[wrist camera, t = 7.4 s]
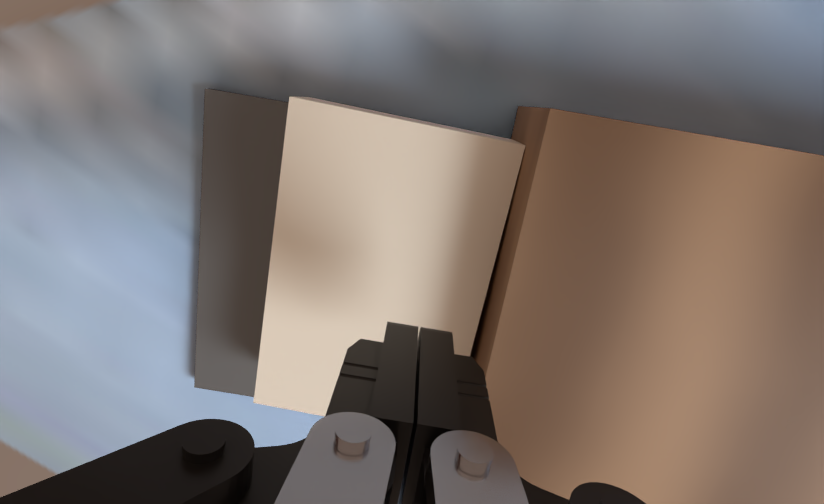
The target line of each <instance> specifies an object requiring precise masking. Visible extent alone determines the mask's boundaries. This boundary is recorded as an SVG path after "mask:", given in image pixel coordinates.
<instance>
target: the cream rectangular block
mask: <svg viewBox="0 0 824 504" xmlns="http://www.w3.org/2000/svg"><path fill="white" fill-rule="evenodd" d="M525 146H526V145H524V144H521V143H519V142H517V141H515V140H513V139H509V138H504V137H499V136H494V135H489V134H484V133H480V132H475V131H470V130H465V129H460V128H456V127H451V126H446V125H441V124H436V123H432V122H427V121H422V120H417V119H412V118H407V117H403V116H398V115H393V114H388V113H383V112H379V111H374V110H369V109H364V108H359V107H355V106H350V105H345V104H340V103H335V102H331V101H326V100H321V99H316V98H311V97H293V96H289V103H288V112H287V121H286V129H285V138H284V146H283V155H282V163H281V172H280V180H279V189H278V197H277V206H276V215H275V223H274V232H273V240H272V249H271V257H270V266H269V274H268V283H267V292H266V300H265V309H264V317H263V326H262V334H261V343H260V351H259V360H258V368H257V377H256V386H255V394H254V403H257V404H263V405H268V406H273V407H278V408H283V409H289V410H294V411H299V412H304V413H309V414H315V415H320V416H325V415H326V412H327V409H328V406H329V403H330V400H331V397H332V394H333V391H334V388H335V385H336V382H337V379H338V376H339V374H340V370H341V367H342V364H343V361H344V358H345V355H346V352H347V349H348V348H349V347H350V346H352V345H353V344H354V343H356V342H357V341H358V340H360V339H366V340H372V341H378V342H383V341H384V336H385V331H386V326H387V321H388V322H394V323H400V324H406V325H412V326H418V336H419V331H420V328H421V327H425V328H431V329H437V330H443V331H449V332H452V334H453V345H454V354H457V355H463V356H469V357H470V353H471V350H472V346H473V342H474V338H475V335H476V331H477V327H478V323H479V320H480V316H481V312H482V308H483V304H484V301H485V297H486V293H487V289H488V286H489V282H490V278H491V274H492V270H493V267H494V263H495V259H496V255H497V252H498V248H499V244H500V240H501V236H502V233H503V229H504V225H505V221H506V218H507V214H508V210H509V206H510V202H511V199H512V195H513V191H514V187H515V184H516V180H517V176H518V172H519V168H520V165H521V161H522V157H523V153H524V150H525Z"/></svg>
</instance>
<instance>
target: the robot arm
mask: <svg viewBox="0 0 824 504" xmlns="http://www.w3.org/2000/svg"><path fill="white" fill-rule="evenodd" d="M486 386H487V385H486V380H485V375H484V371H483V369H482V368H481V367H480V366H479V365H478V363H477V362H476V361H475V360H474V359H473V357H469V356H463V355H457V354H454V345H453V334H452V332H449V331H443V330H437V329H431V328H425V327H421V328H420V331H419V336H418V326H412V325H406V324H400V323H394V322H388V321H387V326H386V331H385V336H384V341H383V342H378V341H372V340H366V339H360V340H358V341H357V342H356V343H354V344H353V345H352V346H350V347H349V348H348V349H347V352H346V355H345V358H344V361H343V364H342V367H341V370H340V374H339V376H338V379H337V382H336V385H335V388H334V391H333V394H332V397H331V400H330V403H329V406H328V409H327V412H326V415H325V417H324V418H322V419H320V420H319V421H317V422H316V423H315V424H314V425H313V426H312V428H311V429H310V431H309V433H308V435H307V437H306V438H305V439H303V440H301V441H298V442H295V443H292V444H287V445H281V446H271V447H258V448H254V440H253V438H252V436H251V434H250V433H249V432H248V431H247V430H246V429H245V428H243V427H242V426H240V425H238V424H236V423H233V422H230V421H226V420H220V419H204V420H196V421H192V422H188V423H185V424H182V425H180V426H177V427H175V428H172V429H170V430H167V431H165V432H162V433H160V434H157V435H155V436H152V437H150V438H147V439H145V440H142V441H140V442H137V443H135V444H132V445H130V446H127V447H125V448H122V449H120V450H117V451H115V452H112V453H110V454H107V455H105V456H102V457H100V458H98V459H95V460H93V461H90V462H88V463H85V464H83V465H80V466H78V467H75V468H73V469H70V470H68V471H65V472H63V473H60V474H58V475H55V476H53V477H51V478H48V479H46V480H43V481H40V482H38V483H36V484H33V485H30V486H28V487H25V488H23V489H21V490H18V491H16V492H13V493H11V494H8V495H6V496H3V497H1V498H0V504H646V503H645V502H643V501H642V500H640V499H639V498H638V497H636V496H635V495H633V494H631V493H629V492H628V491H625V490H623V489H621V488H619V487H616V486H613V485H610V484H606V483H600V482H588V483H583V484H581V485H579V486H577V487H576V488H575V489H574V490H573V491H572V493H571V496H570V499H569V500H568V499H566V498H563V497H561V496H558V495H556V494H553V493H551V492H549V491H546V490H544V489H541V488H539V487H537V486H535V485H533V484H531V483H529V482H528V481H526V480H525V479H523V478H522V477H520V475H519V472H518V469H517V466H516V464H515V461H514V459H513V457H512V456H511V454H510V453H509V452H508V451H507V450H506V449H505V448H504V447H503V446H502V445H501V444H500V443H498V441H497V436H496V430H495V425H494V420H493V415H492V410H491V405H490V400H489V395H488V390H487V388H486Z"/></svg>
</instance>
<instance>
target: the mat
mask: <svg viewBox="0 0 824 504" xmlns="http://www.w3.org/2000/svg"><path fill="white" fill-rule="evenodd" d="M288 103H289V102H283V101H277V100H272V99H266V98H260V97H254V96H248V95H243V94H237V93H231V92H225V91H219V90H214V89H205V96H204V125H203V154H202V183H201V212H200V241H199V270H198V299H197V328H196V357H195V386H194V387H196V388H202V389H208V390H214V391H221V392H227V393H233V394H239V395H245V396H251V397H254V394H255V386H256V377H257V368H258V360H259V351H260V343H261V334H262V326H263V317H264V309H265V300H266V292H267V283H268V274H269V266H270V257H271V249H272V240H273V232H274V223H275V215H276V206H277V197H278V189H279V180H280V172H281V163H282V155H283V146H284V138H285V129H286V121H287V112H288Z"/></svg>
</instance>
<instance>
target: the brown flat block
mask: <svg viewBox="0 0 824 504" xmlns="http://www.w3.org/2000/svg"><path fill="white" fill-rule="evenodd" d="M511 139H513V140H515V141H517V142H519V143H521V144H524V145H526V146H525V150H524V153H523V157H522V161H521V165H520V168H519V172H518V176H517V180H516V184H515V187H514V191H513V195H512V199H511V202H510V206H509V210H508V214H507V218H506V221H505V225H504V229H503V233H502V236H501V240H500V244H499V248H498V252H497V255H496V259H495V263H494V267H493V270H492V274H491V278H490V282H489V286H488V289H487V293H486V297H485V301H484V304H483V308H482V312H481V316H480V320H479V323H478V327H477V331H476V335H475V338H474V342H473V346H472V350H471V353H470V357H473V359H474V360H475V361H476V362H477V363H478V365H479V366H480V367H481V368H482V369H483V371H484V375H485V380H486V385H487V386H486V388H487V390H488V395H489V400H490V405H491V410H492V415H493V420H494V425H495V430H496V436H497V441H498V443H500V444H501V445H502V446H503V447H504V448H505V449H506V450H507V451H508V452H509V453H510V454H511V456H512V457H513V459H514V461H515V464H516V466H517V469H518V472H519V475H520V477H522V478H523V479H525V480H526V481H528V482H529V483H531V484H533V485H535V486H537V487H539V488H541V489H544V490H546V491H549V492H551V493H553V494H556V495H558V496H561V497H563V498H566V499H568V500H569V499H570V496H571V493H572V491H573V490H574V489H575V488H576V487H577V486H579V485H581V484H583V483H588V482H600V483H606V484H610V485H613V486H616V487H619V488H621V489H623V490H625V491H628V492H629V493H631V494H633V495H635V496H636V497H638V498H639V499H640V500H642V501H643V502H645V503H646V504H824V156H823V155H817V154H812V153H806V152H800V151H794V150H789V149H783V148H777V147H771V146H765V145H760V144H754V143H748V142H742V141H737V140H731V139H725V138H719V137H714V136H708V135H702V134H696V133H691V132H685V131H679V130H673V129H667V128H662V127H656V126H650V125H644V124H639V123H633V122H627V121H621V120H616V119H610V118H604V117H598V116H593V115H587V114H581V113H575V112H569V111H564V110H558V109H552V108H540V107H524V106H518V109H517V114H516V118H515V123H514V127H513V132H512V136H511Z"/></svg>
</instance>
